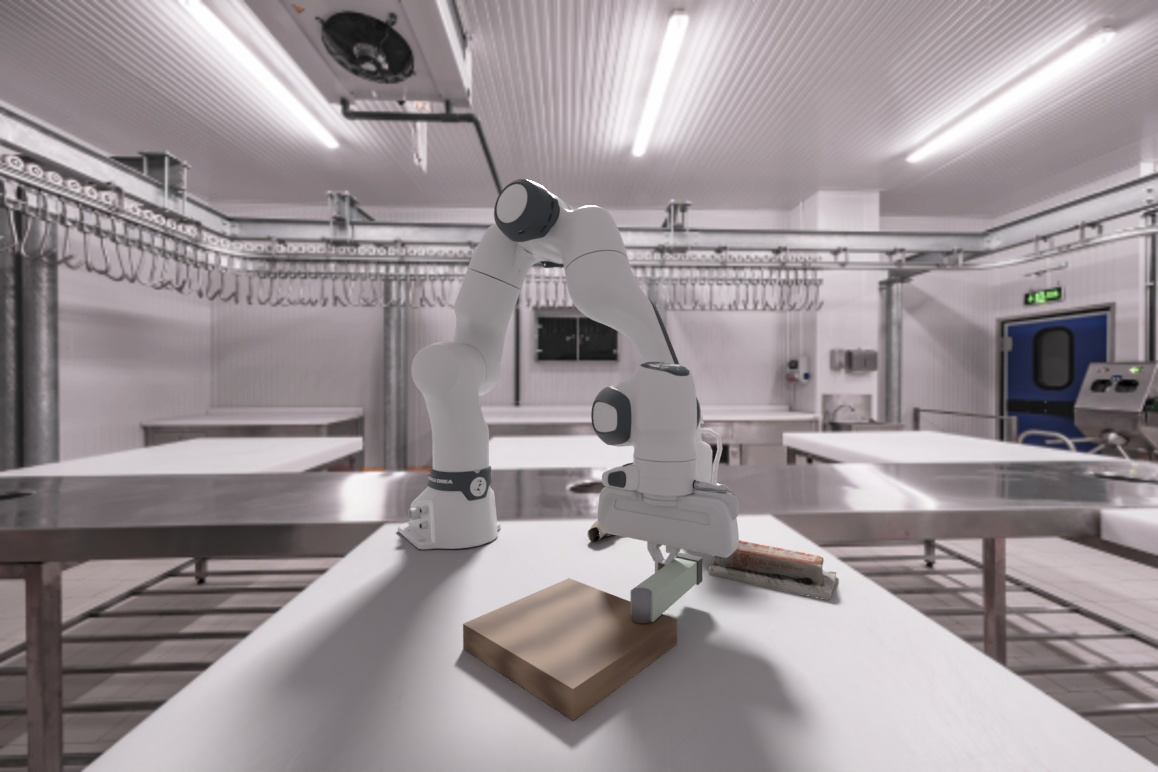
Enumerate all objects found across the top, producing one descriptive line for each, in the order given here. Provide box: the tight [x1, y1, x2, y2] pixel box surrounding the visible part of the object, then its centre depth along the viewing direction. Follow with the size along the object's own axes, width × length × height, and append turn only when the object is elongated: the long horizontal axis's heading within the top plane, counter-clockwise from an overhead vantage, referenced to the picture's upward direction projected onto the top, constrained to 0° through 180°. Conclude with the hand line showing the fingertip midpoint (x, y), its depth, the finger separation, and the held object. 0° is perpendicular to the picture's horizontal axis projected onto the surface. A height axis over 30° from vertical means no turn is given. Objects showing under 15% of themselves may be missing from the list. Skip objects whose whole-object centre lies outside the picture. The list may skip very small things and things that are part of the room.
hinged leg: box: [630, 552, 703, 623], centre depth 64 cm, size 16×3×3 cm, turn 144°
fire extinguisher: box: [694, 414, 723, 484], centre depth 96 cm, size 7×12×25 cm, turn 83°
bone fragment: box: [587, 520, 614, 542], centre depth 100 cm, size 14×6×5 cm, turn 145°
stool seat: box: [462, 577, 678, 722], centre depth 58 cm, size 18×18×3 cm
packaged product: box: [708, 539, 837, 600], centre depth 79 cm, size 18×5×10 cm
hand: (664, 573), depth 70 cm, fingers closed
